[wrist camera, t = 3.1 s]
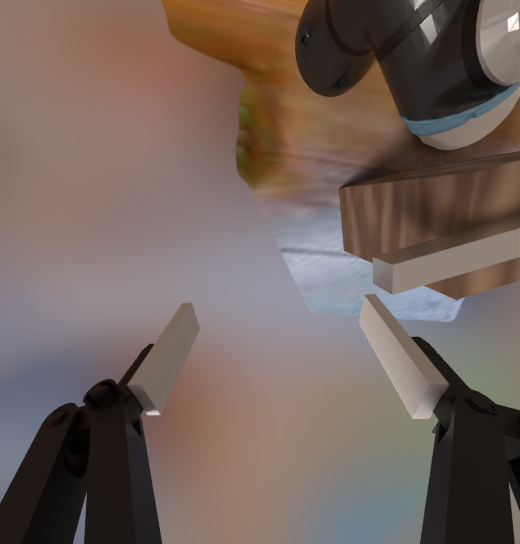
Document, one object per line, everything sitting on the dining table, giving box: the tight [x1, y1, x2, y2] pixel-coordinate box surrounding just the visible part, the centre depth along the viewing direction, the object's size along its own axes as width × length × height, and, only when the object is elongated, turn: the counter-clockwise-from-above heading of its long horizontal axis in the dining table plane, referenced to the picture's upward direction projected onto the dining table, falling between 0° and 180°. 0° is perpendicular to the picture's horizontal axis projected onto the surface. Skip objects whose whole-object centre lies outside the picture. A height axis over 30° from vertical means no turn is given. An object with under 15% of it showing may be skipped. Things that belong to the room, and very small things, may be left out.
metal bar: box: [373, 215, 520, 295], centre depth 22 cm, size 32×4×3 cm, turn 104°
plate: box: [418, 86, 520, 150], centre depth 39 cm, size 28×6×27 cm
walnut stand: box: [339, 151, 520, 300], centre depth 37 cm, size 16×16×28 cm
